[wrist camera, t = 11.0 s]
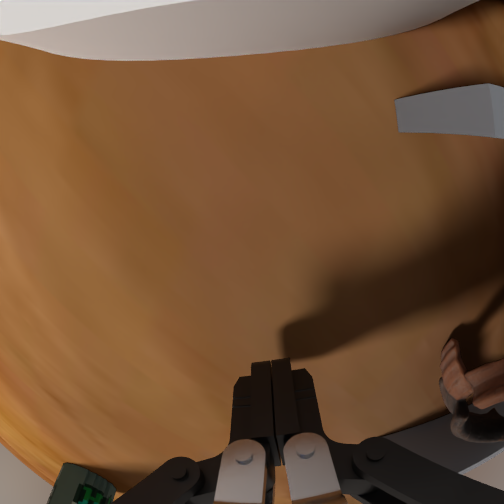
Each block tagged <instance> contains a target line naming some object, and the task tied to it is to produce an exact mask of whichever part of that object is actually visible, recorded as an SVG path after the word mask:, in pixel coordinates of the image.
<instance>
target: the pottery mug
mask: <svg viewBox="0 0 504 504" xmlns="http://www.w3.org/2000/svg"><path fill="white" fill-rule="evenodd" d="M440 368H441V370H442V377H441V378H440V380H439V385H440V390H441V394H442V397H443V400H444V403H445V405H446V407H447V408H448V410H449V411H450V412H451V413H452V414H453V415H452V419H451V423H450V427H451V432H452V433H453V435H455V436H456V437H458V438H462V439H463V440H466V441H468V442H476V443H494V442H500V441H504V417H503V416H501V415H500V414H499V413H498V412H497V411H496V409H495V408H492V409H491V410H490V411H489V412H488V413H485V414H477V413H473V412H469V408H468V404H467V402H466V400H465V398H467V397H469V396H470V395H471V394H472V393H474V396H473V405H474V406H476V407H478V408H479V409H485V408H487V407H490V406H492V405H494V404H497V403H500V402H503V401H504V358H503V359H501V360H498V361H495V362H492V363H487V364H484V365H482V366H479V367H477V368H475V369H473V370H471V371H467V369H466V367H465V365H464V363H463V361H462V357H461V351H460V345H459V341H458V340H456V339H454V338H452V339H450V341H449V342H448V343H447V344H446V345H445V346H444V348H443V350H442V352H441V364H440Z"/></svg>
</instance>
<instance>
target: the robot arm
mask: <svg viewBox="0 0 504 504" xmlns="http://www.w3.org/2000/svg"><path fill="white" fill-rule="evenodd" d="M271 363H272V367H271ZM232 407H233V408H232V418H231V432H230V442H229V444H228V446H227V447H226V448H225V450H224V451H223V452H222V453H221V454H219V455H218V456H216V457H213V458H210V459H206V460H203V461H199V462H195V461H194V460H192V459H190V458H187V457H175V458H172V459H170V460H168V461H167V462H165V463H164V464H163V465H162V466H160V467H159V468H158V469H157V470H155V471H154V472H153V473H151V474H150V475H149V476H148V477H146V478H145V479H144V480H142V481H141V482H140V483H138V484H137V485H136V486H134V487H133V488H132V489H130V490H129V491H127V492H126V493H125V494H123V495H122V496H120V497H119V498H118V499H116V500H115V501H113V502H112V503H110V504H274V498H275V466H281V459H282V463H283V465H286V471H287V477H288V483H289V489H290V495H291V500H292V504H348V503H347V500H346V498H345V496H344V495H343V494H350V495H351V496H352V497H353V498H355V499H357V500H358V501H360V502H361V503H363V504H504V491H502V490H500V489H497V488H494V487H491V486H489V485H486V484H484V483H481V482H478V481H476V480H473V479H471V478H469V477H466V476H463V475H461V474H459V473H457V472H454V471H452V470H450V469H448V468H445V467H443V466H441V465H439V464H437V463H435V462H432V461H430V460H428V459H426V458H424V457H422V456H420V455H418V454H416V453H414V452H412V451H410V450H408V449H406V448H404V447H402V446H400V445H398V444H396V443H394V442H393V441H391V440H389V439H387V438H384V437H371V438H368V439H365V440H364V441H362V442H361V443H360V444H342V443H338V442H335V441H332V440H331V439H329V438H328V437H327V436H326V435H325V433H324V431H323V428H322V423H321V418H320V413H319V408H318V403H317V398H316V393H315V389H314V383H313V379H312V376H311V375H310V374H309V373H308V371H307V370H306V369H305V368H304V369H298V370H291V364H290V358H284V359H277V360H271V362H270V361H263V362H254V363H252V364H251V376H244V377H239V379H238V381H237V382H236V384H235V386H234V391H233V405H232Z"/></svg>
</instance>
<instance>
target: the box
mask: <svg viewBox="0 0 504 504" xmlns="http://www.w3.org/2000/svg"><path fill="white" fill-rule="evenodd" d="M395 106H396V114H397V122H398V130H399V132H418V133H445V134H461V135H474V136H484V137H493V138H502V139H504V87H500V86H497V85H493V84H489V83H488V84H479V85H472V86H465V87H458V88H452V89H446V90H440V91H434V92H429V93H424V94H419V95H414V96H409V97H405V98H400V99H396V100H395ZM468 408H469V412H473V413H477V414H485V413H488V412H489V411H490V410H491V409H492V408H495V409H496V411H497V412H498V413H499V414H500V415H501V416H503V417H504V401H503V402H500V403H497V404H494V405H492V406H490V407H487V408H485V409H479V408H478V407H476V406H474V405H473V404H471V405H468ZM452 415H453V414H452V413H450V414H448V415H445V416H443V417H440V418H438V419H435V420H433V421H430V422H427V423H424V424H422V425H419V426H416V427H413V428H410V429H407V430H404V431H400V432H397V433H394V434H390V435H387V436H383V437H384V438H387V439H389V440H391V441H393V442H394V443H396V444H398V445H400V446H402V447H404V448H406V449H408V450H410V451H412V452H414V453H416V454H418V455H420V456H422V457H424V458H426V459H428V460H430V461H432V462H435V463H437V464H439V465H441V466H443V467H445V468H448V469H450V470H452V471H454V472H457V473H459V474H461V475H462V474H464V473H466V472H468V471H470V470H472V469H474V468H476V467H478V466H479V465H481V464H483V463H485V462H486V461H488V460H490V459H492V458H493V457H495V456H496V455H498V454H500V453H501V452H503V451H504V441H500V442H494V443H476V442H468V441H466V440H463V439H462V438H458V437H456V436H455V435H453V433H452V432H451V427H450V423H451V419H452Z"/></svg>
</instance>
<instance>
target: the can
mask: <svg viewBox="0 0 504 504" xmlns="http://www.w3.org/2000/svg"><path fill="white" fill-rule="evenodd" d="M115 492H116V489H115V487H114V486H113V485H112V483H109V482H107V480H106V479H103V478H102V477H101V476H98V475H97V474H95V473H93V472H90V471H89V470H87V469H85V468H82V467H80V466H77V465H75V464H69V463H65V464H64V463H63V466H62V468H61V470H60V473H59V475H58V477H57V480H56V482H55V484H54V487H53V489H52V492H51V494H50V497H49V499H48V502H47V504H110V503H112V502H113V499H114V496H115Z"/></svg>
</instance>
